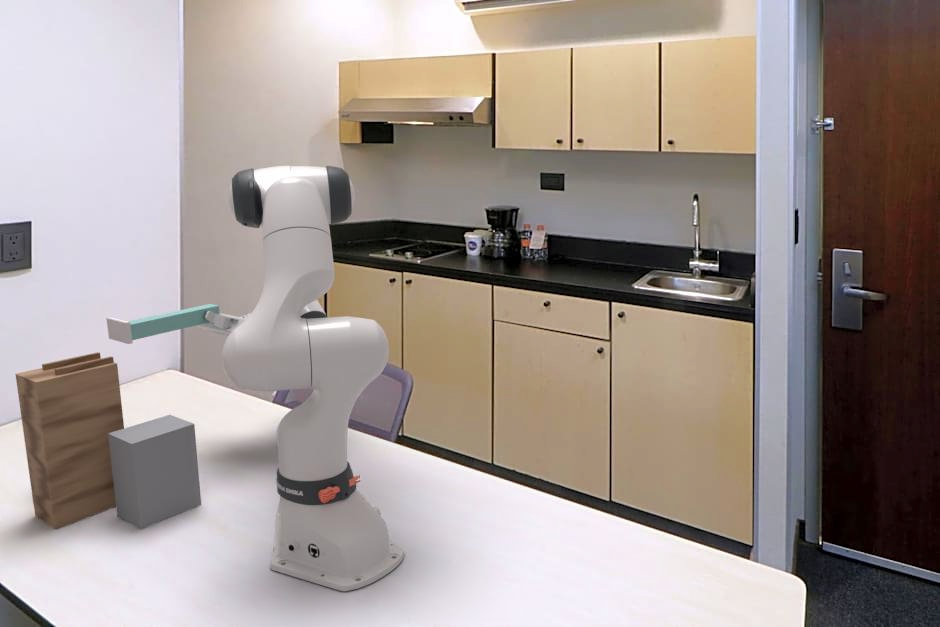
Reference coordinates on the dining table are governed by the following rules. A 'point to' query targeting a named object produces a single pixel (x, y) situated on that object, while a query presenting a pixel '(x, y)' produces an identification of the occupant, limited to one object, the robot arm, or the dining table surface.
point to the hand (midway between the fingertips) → (198, 313)
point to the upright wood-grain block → (70, 436)
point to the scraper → (157, 323)
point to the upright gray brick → (154, 470)
